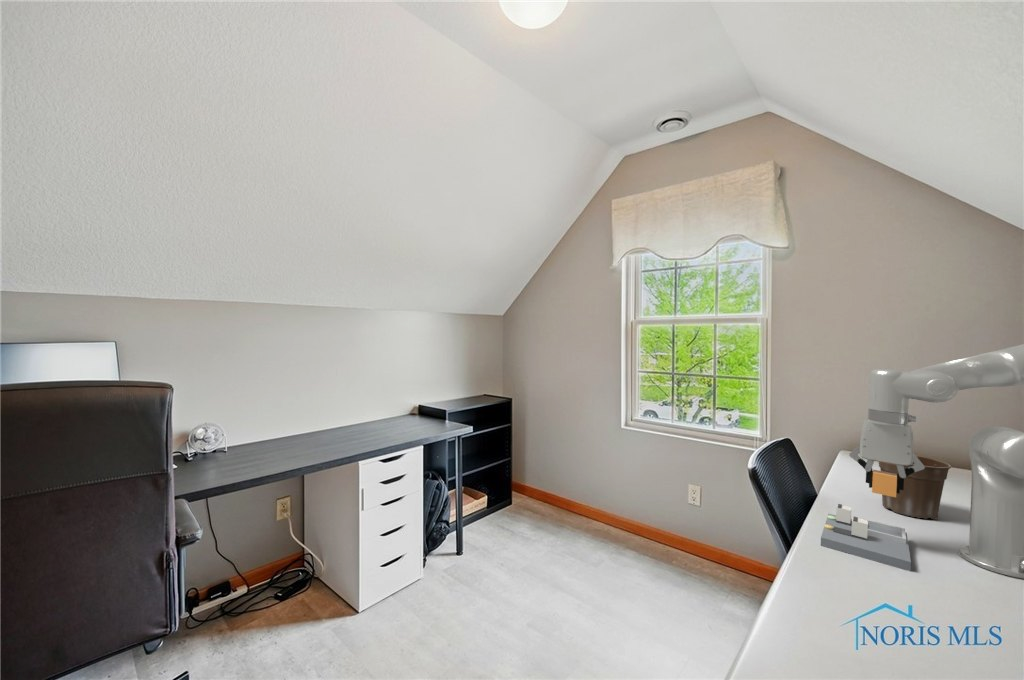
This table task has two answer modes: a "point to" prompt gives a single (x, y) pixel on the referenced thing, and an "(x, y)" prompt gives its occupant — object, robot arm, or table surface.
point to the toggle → (843, 513)
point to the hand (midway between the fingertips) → (883, 488)
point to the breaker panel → (869, 542)
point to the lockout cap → (884, 483)
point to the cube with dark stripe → (859, 527)
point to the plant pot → (918, 489)
